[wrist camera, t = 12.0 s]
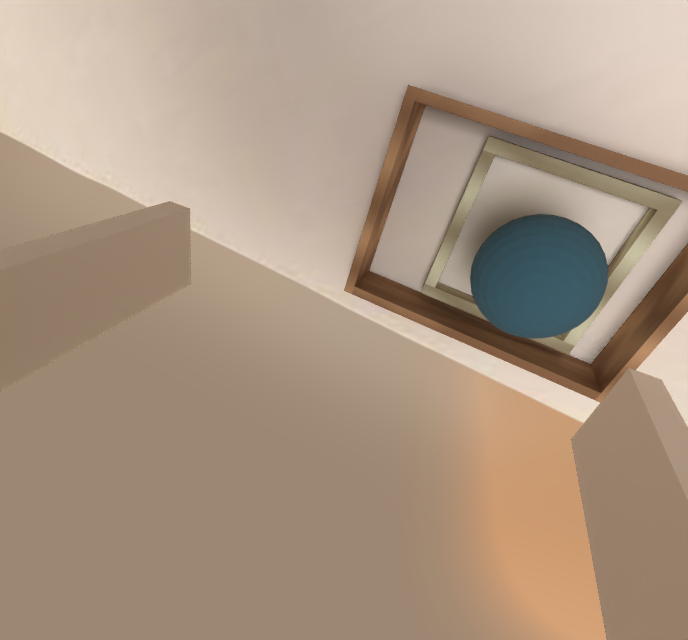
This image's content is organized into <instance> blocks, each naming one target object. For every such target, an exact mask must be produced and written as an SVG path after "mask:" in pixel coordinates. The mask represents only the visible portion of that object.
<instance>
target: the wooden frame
mask: <svg viewBox="0 0 688 640" xmlns="http://www.w3.org/2000/svg"><path fill="white" fill-rule="evenodd" d="M425 105H428V106H431V107H434V108H437V109H440V110H443V111H446V112H449V113H452V114H455V115H458V116H461V117H464V118H467V119H470V120H473V121H476V122H479V123H482V124H485V125H488V126H491V127H494V128H497V129H500V130H503V131H506V132H509V133H512V134H515V135H518V136H521V137H525V138H528V139H531V140H534V141H537V142H540V143H543V144H546V145H549V146H552V147H555V148H558V149H561V150H564V151H567V152H570V153H573V154H576V155H579V156H582V157H585V158H588V159H591V160H594V161H597V162H600V163H603V164H606V165H609V166H612V167H615V168H618V169H621V170H624V171H627V172H630V173H633V174H636V175H639V176H642V177H645V178H648V179H651V180H654V181H657V182H660V183H663V184H666V185H669V186H672V187H675V188H678V189H681V190H684V191H687V192H688V176H687V175H684V174H681V173H678V172H675V171H672V170H668V169H665V168H662V167H659V166H656V165H653V164H650V163H647V162H644V161H641V160H638V159H635V158H631V157H628V156H625V155H622V154H619V153H616V152H613V151H610V150H607V149H604V148H601V147H598V146H595V145H591V144H588V143H585V142H582V141H579V140H576V139H573V138H570V137H567V136H564V135H561V134H558V133H555V132H551V131H548V130H545V129H542V128H539V127H536V126H533V125H530V124H527V123H524V122H521V121H518V120H514V119H511V118H508V117H505V116H502V115H499V114H496V113H493V112H490V111H487V110H484V109H481V108H478V107H474V106H471V105H468V104H465V103H462V102H459V101H456V100H453V99H450V98H447V97H444V96H441V95H438V94H434V93H431V92H428V91H425V90H422V89H419V88H416V87H413V86H410V85H408V87H407V90H406V94H405V97H404V100H403V103H402V106H401V110H400V113H399V116H398V119H397V122H396V126H395V129H394V132H393V135H392V138H391V142H390V145H389V148H388V151H387V154H386V158H385V161H384V164H383V167H382V171H381V174H380V177H379V180H378V183H377V187H376V190H375V193H374V196H373V199H372V203H371V206H370V209H369V212H368V215H367V219H366V222H365V225H364V228H363V231H362V235H361V238H360V241H359V244H358V247H357V251H356V254H355V257H354V260H353V263H352V267H351V270H350V273H349V276H348V279H347V283H346V286H345V289H344V291H346V292H348V293H351V294H353V295H355V296H357V297H360V298H362V299H364V300H367V301H369V302H371V303H374V304H376V305H378V306H380V307H383V308H385V309H387V310H390V311H392V312H394V313H396V314H399V315H401V316H403V317H406V318H408V319H410V320H413V321H415V322H417V323H419V324H422V325H424V326H426V327H429V328H431V329H433V330H435V331H438V332H440V333H442V334H445V335H447V336H449V337H451V338H454V339H456V340H458V341H461V342H463V343H465V344H468V345H470V346H472V347H474V348H477V349H479V350H481V351H484V352H486V353H488V354H490V355H493V356H495V357H497V358H500V359H502V360H504V361H506V362H509V363H511V364H513V365H516V366H518V367H520V368H523V369H525V370H527V371H529V372H532V373H534V374H536V375H539V376H541V377H543V378H545V379H548V380H550V381H552V382H555V383H557V384H559V385H562V386H564V387H566V388H568V389H571V390H573V391H575V392H578V393H580V394H582V395H584V396H587V397H589V398H591V399H594V400H596V401H598V402H600V403H601V402H602V400H603V399H604V398H605V397H606V396H607V394H608V393H609V392H610V391H611V389H612V388H613V387H614V386H615V384H616V383H617V382H618V381H619V379H620V378H621V377H622V376H623V375H624V373H625V372H626V371H627V370H628V368H630V369H633V370H636V369H637V368H638V367H639V366H640V365H641V363H642V362H643V361H644V360H645V359H646V358H647V357H648V356H649V354H650V353H651V352H652V351H653V350H654V349H655V348H656V347H657V345H658V344H659V343H660V342H661V341H662V340H663V339H664V338H665V336H666V335H667V334H668V333H669V332H670V331H671V330H672V329H673V327H674V326H675V325H676V324H677V323H678V322H679V321H680V320H681V318H682V317H683V316H684V315H685V314H686V313H687V312H688V244H687V246H686V247H685V248H684V249H683V251H682V252H681V253H680V254H679V256H678V257H677V258H676V259H675V261H674V262H673V263H672V264H671V266H670V267H669V268H668V269H667V271H666V272H665V273H664V274H663V276H662V277H661V278H660V279H659V280H658V282H657V283H656V284H655V285H654V287H653V288H652V289H651V290H650V292H649V293H648V294H647V295H646V297H645V298H644V299H643V300H642V302H641V303H640V304H639V305H638V307H637V308H636V309H635V310H634V312H633V313H632V314H631V315H630V317H629V318H628V319H627V320H626V322H625V323H624V324H623V325H622V327H621V328H620V329H619V330H618V332H617V333H616V334H615V335H614V337H613V338H612V339H611V340H610V342H609V343H608V344H607V345H606V347H605V348H604V349H603V350H602V352H601V353H600V354H599V355H598V357H597V358H596V359H595V360H594V362H593V363H592V364H588V363H586V362H584V361H581V360H579V359H576V358H574V357H572V356H569V355H567V354H569V353H570V352H571V350H572V349H573V348H574V346H575V345H576V344H577V342H578V341H579V339H580V338H581V337H582V335H583V334H584V333H585V331H586V330H587V329H588V327H589V326H590V325H591V323H592V322H593V321H594V319H595V318H596V317H597V315H598V314H599V313H600V311H601V310H602V309H603V307H604V306H605V305H606V303H607V302H608V301H609V299H610V298H611V297H612V295H613V294H614V293H615V291H616V290H617V289H618V287H619V286H620V285H621V283H622V282H623V281H624V279H625V278H626V277H627V275H628V274H629V272H630V271H631V270H632V268H633V267H634V266H635V264H636V263H637V262H638V260H639V259H640V258H641V256H642V255H643V254H644V252H645V251H646V250H647V248H648V247H649V246H650V244H651V243H652V242H653V240H654V239H655V238H656V236H657V235H658V234H659V232H660V231H661V230H662V228H663V227H664V226H665V224H666V223H667V222H668V220H669V219H670V218H671V216H672V215H673V214H674V212H675V211H676V210H677V208H678V207H679V205H680V204H681V203H682V201H681V200H678V199H676V198H674V197H671V196H668V195H665V194H662V193H659V192H656V191H653V190H650V189H647V188H644V187H641V186H638V185H635V184H632V183H629V182H626V181H623V180H620V179H617V178H614V177H611V176H608V175H605V174H602V173H599V172H596V171H593V170H590V169H587V168H584V167H581V166H578V165H575V164H572V163H569V162H566V161H564V160H561V159H558V158H555V157H552V156H549V155H546V154H543V153H540V152H537V151H534V150H531V149H528V148H525V147H522V146H519V145H516V144H513V143H510V142H507V141H504V140H501V139H498V138H495V137H492V136H489V138H488V140H487V142H486V144H485V147H484V149H483V151H482V154H481V156H480V158H479V161H478V163H477V165H476V167H475V170H474V172H473V174H472V177H471V179H470V181H469V183H468V186H467V188H466V190H465V193H464V195H463V197H462V200H461V202H460V204H459V206H458V209H457V211H456V213H455V216H454V218H453V220H452V222H451V225H450V227H449V229H448V232H447V234H446V236H445V238H444V241H443V243H442V245H441V248H440V250H439V252H438V255H437V257H436V259H435V261H434V264H433V266H432V268H431V271H430V273H429V275H428V277H427V280H426V282H425V284H424V287H423V289H422V291H421V293H420V292H417V291H415V290H413V289H410V288H408V287H406V286H403V285H401V284H399V283H396V282H394V281H391V280H389V279H387V278H384V277H382V276H380V275H377V274H375V273H372V272H370V271H369V269H370V266H371V263H372V260H373V257H374V254H375V251H376V248H377V245H378V242H379V239H380V236H381V233H382V231H383V228H384V225H385V222H386V219H387V216H388V213H389V210H390V207H391V204H392V201H393V198H394V195H395V192H396V189H397V187H398V184H399V181H400V178H401V175H402V172H403V169H404V166H405V163H406V160H407V157H408V154H409V151H410V148H411V145H412V143H413V140H414V137H415V134H416V131H417V128H418V125H419V122H420V119H421V116H422V113H423V110H424V107H425ZM495 155H499V156H502V157H505V158H508V159H511V160H514V161H517V162H519V163H522V164H525V165H528V166H531V167H534V168H537V169H540V170H543V171H546V172H549V173H551V174H554V175H557V176H560V177H563V178H566V179H569V180H572V181H575V182H578V183H581V184H583V185H586V186H589V187H592V188H595V189H598V190H601V191H604V192H607V193H610V194H613V195H615V196H618V197H621V198H624V199H627V200H630V201H633V202H636V203H639V204H642V205H645V206H648V207H650V209H649V210H648V211H647V213H646V214H645V216H644V217H643V219H642V220H641V221H640V223H639V224H638V226H637V227H636V228H635V230H634V231H633V233H632V234H631V236H630V237H629V238H628V240H627V241H626V243H625V244H624V245H623V247H622V248H621V250H620V251H619V252H618V254H617V255H616V257H615V258H614V260H613V261H612V262H611V264H610V265H609V267H608V283H607V287H606V290H605V294H604V296H603V298H602V300H601V302H600V304H599V306H598V307H597V309H596V310H595V311H594V312H593V314H592V315H591V316H590V317H589V318H588V319H587V320H586V321H584V322H583V323H582V324H581V325H579V326H578V327H576V328H574V329H572V330H570V331H569V332H566V333H563V334H560V335H557V336H553V337H548V338H534V339H532V340H531V338H530V339H529V338H523V337H518V336H515V335H511V334H508V333H506V332H504V331H502V330H500V329H498V328H497V327H496V326H494V325H493V324H492V323H490V322H489V321H488V320H487V319H486V317H485V316H484V315H483V314H482V313H481V312H480V310H479V308H478V307H477V305H476V303H475V301H474V298H473V297H472V296H470V295H467V294H465V293H462V292H460V291H457V290H455V289H453V288H450V287H448V286H445V285H443V284H441V283H438V280H439V278H440V275H441V273H442V271H443V269H444V267H445V264H446V262H447V260H448V258H449V256H450V253H451V251H452V249H453V247H454V245H455V242H456V240H457V238H458V236H459V234H460V231H461V229H462V227H463V225H464V223H465V220H466V218H467V216H468V214H469V212H470V209H471V207H472V205H473V203H474V201H475V198H476V196H477V194H478V192H479V190H480V187H481V185H482V183H483V181H484V179H485V176H486V174H487V172H488V170H489V168H490V166H491V163H492V161H493V159H494V157H495ZM422 293H423V294H422ZM427 295H428V296H427ZM429 296H430V297H429ZM432 297H433V298H432ZM434 298H435V299H434ZM436 299H437V300H436ZM439 300H440V301H439ZM441 301H442V302H441ZM446 303H447V304H446ZM448 304H449V305H448ZM451 305H452V306H451ZM453 306H454V307H453ZM455 307H456V308H455ZM458 308H459V309H458ZM460 309H461V310H460ZM465 311H466V312H465ZM467 312H468V313H467ZM470 313H471V314H470ZM472 314H473V315H472ZM474 315H475V316H474ZM477 316H478V317H477ZM479 317H480V318H479ZM484 319H485V320H484ZM486 320H487V321H486ZM534 340H535V341H534ZM536 341H537V342H536ZM541 343H542V344H541ZM543 344H544V345H543ZM546 345H547V346H546ZM548 346H549V347H548ZM550 347H551V348H550ZM553 348H554V349H553ZM555 349H556V350H555ZM557 350H558V351H557ZM560 351H561V352H560ZM562 352H563V353H562Z"/></svg>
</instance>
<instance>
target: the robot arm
mask: <svg viewBox="0 0 688 640" xmlns="http://www.w3.org/2000/svg"><path fill="white" fill-rule="evenodd" d="M190 261H191V260H190V208H187V207H184V206H181V205H179V204H176V203H173V202H170V201H169V202H166V203H162V204H159V205H155V206H152V207H148V208H145V209H141V210H138V211H134V212H131V213H127V214H124V215H120V216H117V217H113V218H110V219H106V220H103V221H99V222H96V223H92V224H89V225H85V226H82V227H78V228H75V229H71V230H68V231H64V232H61V233H57V234H54V235H50V236H47V237H43V238H40V239H36V240H33V241H29V242H26V243H22V244H19V245H15V246H11V247H8V248H5V249H1V250H0V391H2V390H3V389H5V388H7V387H8V386H10V385H12V384H14V383H15V382H18V381H19V380H21V379H23V378H25V377H26V376H28V375H30V374H31V373H34V372H35V371H37V370H39V369H41V368H42V367H44V366H46V365H48V364H50V363H51V362H53V361H55V360H57V359H58V358H60V357H62V356H64V355H65V354H67V353H69V352H71V351H73V350H74V349H76V348H78V347H79V346H81V345H83V344H85V343H87V342H89V341H90V340H92V339H94V338H96V337H98V336H99V335H101V334H103V333H105V332H106V331H108V330H110V329H112V328H114V327H115V326H117V325H119V324H121V323H122V322H124V321H126V320H128V319H129V318H131V317H133V316H135V315H137V314H138V313H140V312H142V311H144V310H146V309H147V308H149V307H151V306H153V305H155V304H156V303H158V302H160V301H162V300H163V299H165V298H167V297H169V296H171V295H172V294H174V293H176V292H177V291H179V290H181V289H183V288H185V287H187V286H188V285H190V284H191V269H190V268H191V267H190V266H191V262H190ZM571 441H572V448H573V453H574V459H575V464H576V470H577V476H578V481H579V487H580V493H581V498H582V504H583V509H584V515H585V520H586V526H587V532H588V537H589V543H590V549H591V554H592V560H593V565H594V571H595V576H596V582H597V588H598V593H599V599H600V604H601V610H602V616H603V621H604V627H605V632H606V638H607V640H688V427H687V425H686V424H685V422H684V420H683V418H682V416H681V414H680V413H679V411H678V409H677V407H676V405H675V403H674V402H673V400H672V398H671V396H670V394H669V392H668V391H667V389H666V387H665V385H664V383H663V381H662V380H661V379H658V378H655V377H652V376H650V375H647V374H644V373H641V372H639V371H636V370H633V369H630V368H628V370H627V371H626V372H625V373H624V375H623V376H622V377H621V378H620V379H619V381H618V382H617V383H616V384H615V386H614V387H613V388H612V389H611V391H610V392H609V393H608V394H607V396H606V397H605V398H604V399H603V400H602V402H601V403H600V404H599V405H598V407H597V408H596V409H595V410H594V412H593V413H592V414H591V415H590V417H589V418H588V419H587V420H586V421H585V423H584V424H583V425H582V426H581V428H580V429H579V430H578V431H577V433H576V434H575V435H574V436H573V438H572V439H571Z"/></svg>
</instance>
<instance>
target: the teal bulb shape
mask: <svg viewBox="0 0 688 640" xmlns="http://www.w3.org/2000/svg"><path fill="white" fill-rule="evenodd" d="M470 280H471V291H472V295H473V298H474V301H475V303H476V305H477V307H478V308H479V310H480V312H481V313H482V314H483V315H484V316H485V317H486V319H487V320H488V321H489V322H490V323H492V324H493V325H494V326H496V327H497V328H498V329H500V330H502V331H504V332H506V333H508V334H511V335H515V336H518V337H523V338H531V339H534V338H548V337H553V336H557V335H560V334H563V333H566V332H569V331H570V330H572V329H574V328H576V327H578V326H579V325H581V324H582V323H583V322H584V321H586V320H587V319H588V318H589V317H590V316H591V315H592V314H593V312H594V311H595V310H596V309H597V307H598V306H599V304H600V302H601V300H602V298H603V296H604V294H605V290H606V287H607V283H608V266H607V261H606V257H605V254H604V252H603V250H602V248H601V246H600V243H599V242H598V241H597V240H596V238H595V237H594V236H593V235H592V234H591V233H590V232H589V231H588V230H586V229H585V228H584V227H582V226H581V225H579V224H578V223H575V222H573V221H571V220H569V219H567V218H563V217H559V216H555V215H541V214H538V215H531V216H525V217H522V218H518V219H515V220H512V221H510V222H509V223H507V224H505V225H503V226H501V227H500V228H498V229H497V230H496V231H495V232H493V233H492V234H491V235H490V236H489V237H488V238H487V239H486V241H485V242H484V243H483V244H482V246H481V247H480V249H479V251H478V252H477V254H476V256H475V258H474V261H473V264H472V268H471V276H470Z"/></svg>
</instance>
